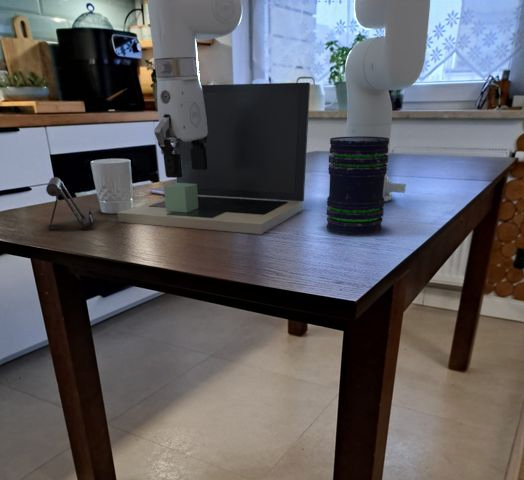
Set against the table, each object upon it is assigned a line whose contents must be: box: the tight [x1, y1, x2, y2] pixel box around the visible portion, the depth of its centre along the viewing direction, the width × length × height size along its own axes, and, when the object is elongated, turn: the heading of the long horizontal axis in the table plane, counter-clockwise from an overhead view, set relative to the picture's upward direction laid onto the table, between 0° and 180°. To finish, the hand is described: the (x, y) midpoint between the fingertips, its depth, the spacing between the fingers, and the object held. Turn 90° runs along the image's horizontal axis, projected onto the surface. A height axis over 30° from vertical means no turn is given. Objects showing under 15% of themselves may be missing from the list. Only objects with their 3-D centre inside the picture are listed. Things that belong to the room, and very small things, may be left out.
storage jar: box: [326, 136, 389, 237], centre depth 88 cm, size 10×10×15 cm
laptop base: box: [116, 195, 303, 235], centre depth 103 cm, size 22×30×2 cm
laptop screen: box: [176, 82, 311, 202], centre depth 108 cm, size 22×30×1 cm
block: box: [163, 182, 198, 213], centre depth 99 cm, size 5×5×5 cm
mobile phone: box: [148, 186, 165, 196], centre depth 127 cm, size 8×1×15 cm
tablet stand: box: [45, 176, 94, 231], centre depth 95 cm, size 9×8×8 cm
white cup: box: [90, 158, 134, 215], centre depth 107 cm, size 8×8×10 cm
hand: (187, 173), depth 98 cm, fingers open, 9 cm apart
